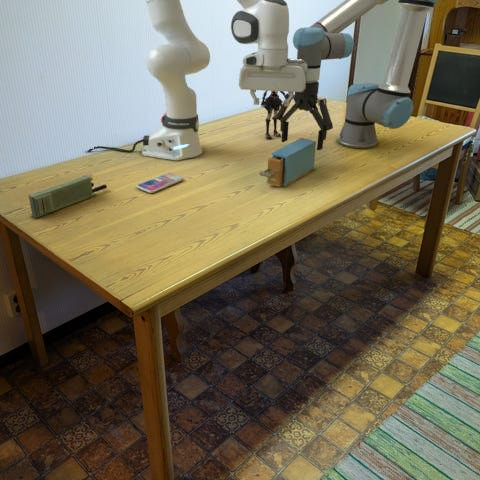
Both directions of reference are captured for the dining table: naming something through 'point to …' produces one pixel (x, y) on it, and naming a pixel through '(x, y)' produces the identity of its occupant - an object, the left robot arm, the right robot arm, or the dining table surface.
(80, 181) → the handheld radio
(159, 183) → the smartphone
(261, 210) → the dining table surface
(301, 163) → the tall blue open box
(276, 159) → the drawer
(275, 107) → the figurine
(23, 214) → the dining table surface
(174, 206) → the dining table surface
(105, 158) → the dining table surface
